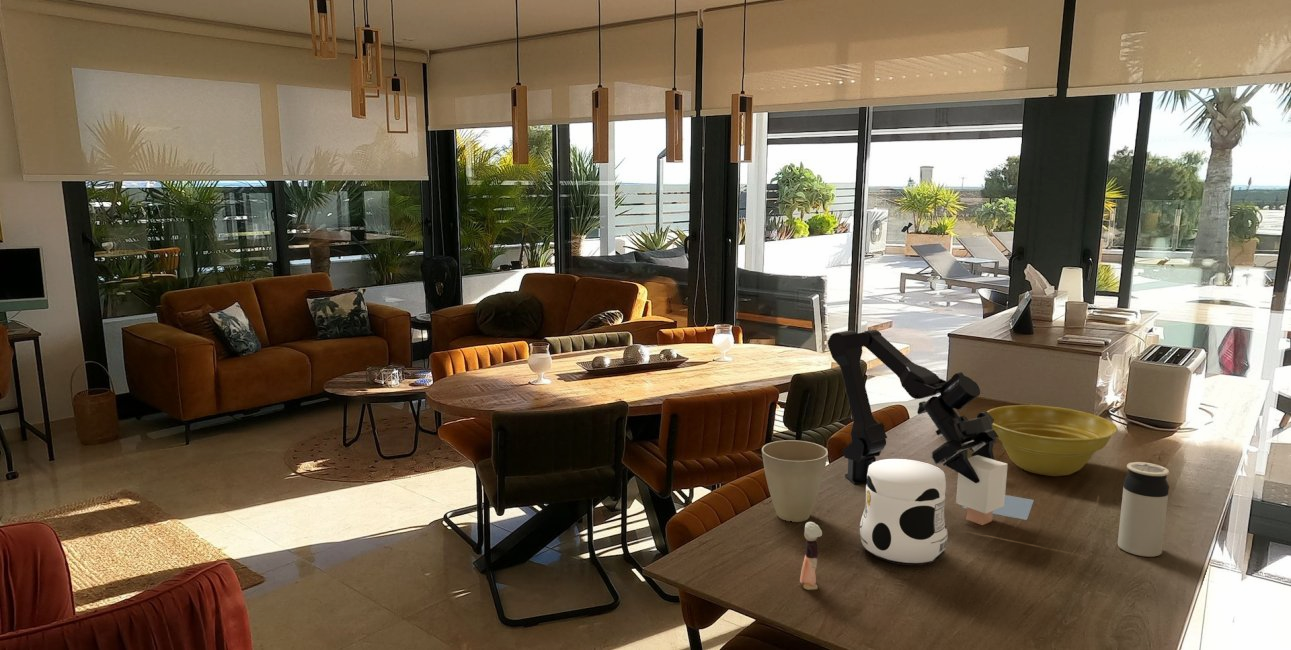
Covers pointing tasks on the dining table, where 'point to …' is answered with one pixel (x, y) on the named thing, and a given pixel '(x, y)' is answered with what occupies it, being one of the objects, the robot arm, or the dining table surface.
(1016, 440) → the planter bowl
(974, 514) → the block
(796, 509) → the plant pot
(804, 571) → the grandmother figurine
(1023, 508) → the mat
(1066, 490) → the dining table surface
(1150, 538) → the travel mug
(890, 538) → the milk container
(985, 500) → the white rectangular block
